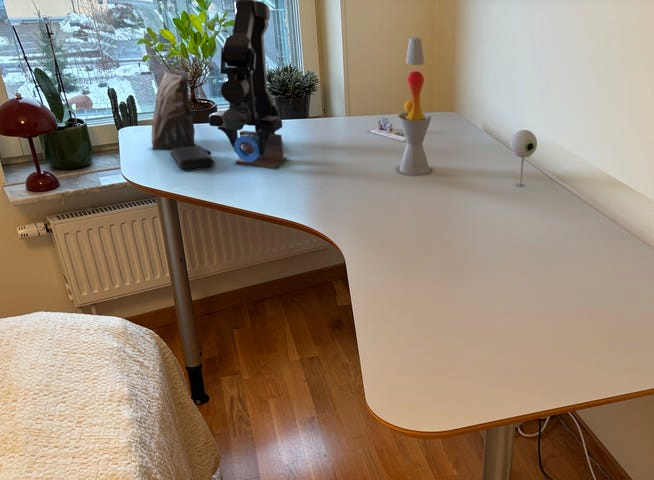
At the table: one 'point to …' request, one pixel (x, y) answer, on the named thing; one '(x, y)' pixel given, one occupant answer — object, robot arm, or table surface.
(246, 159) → the tape roll
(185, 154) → the carrying case
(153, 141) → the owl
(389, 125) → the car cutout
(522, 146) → the eyeball on stand
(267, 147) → the hook
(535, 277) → the table surface
